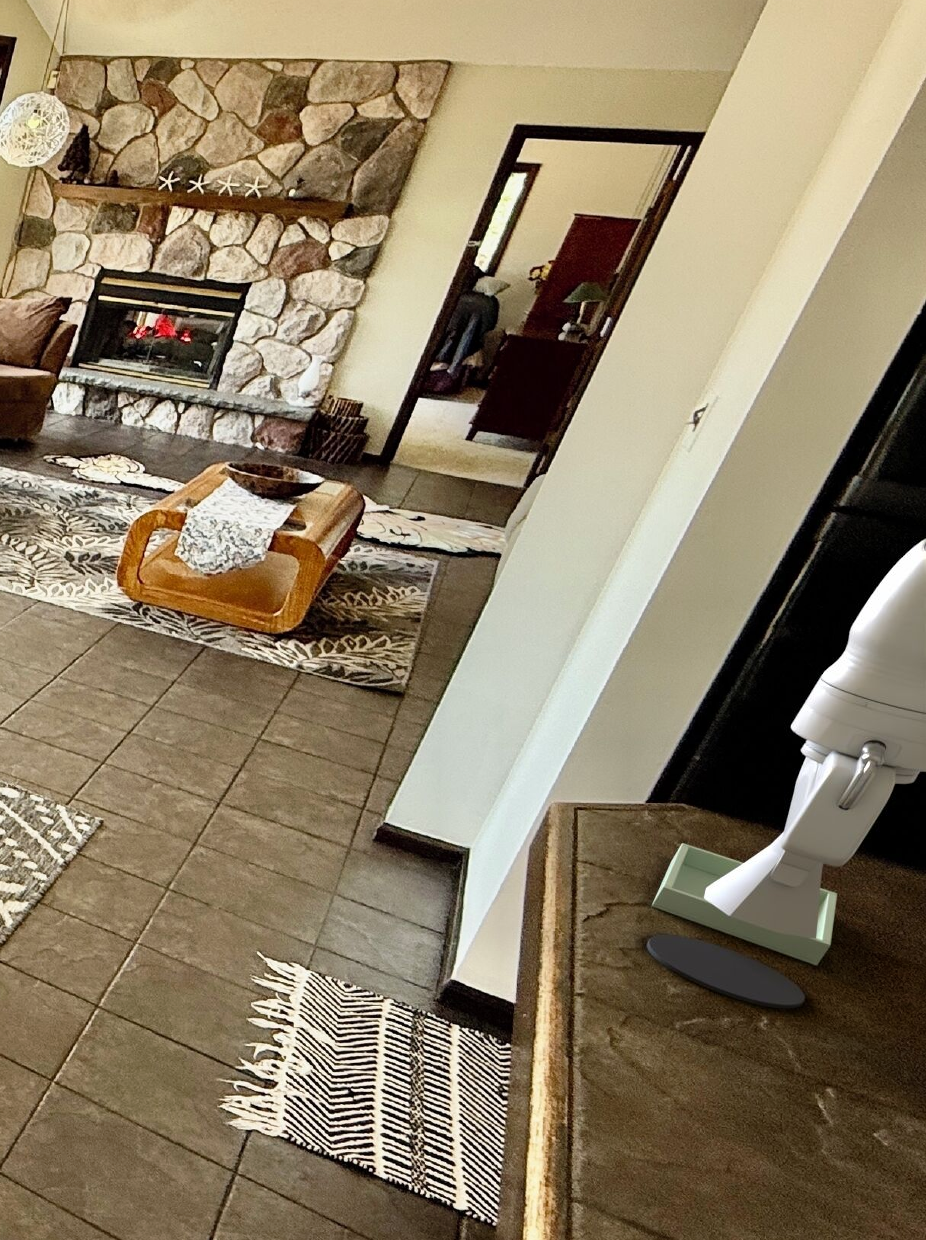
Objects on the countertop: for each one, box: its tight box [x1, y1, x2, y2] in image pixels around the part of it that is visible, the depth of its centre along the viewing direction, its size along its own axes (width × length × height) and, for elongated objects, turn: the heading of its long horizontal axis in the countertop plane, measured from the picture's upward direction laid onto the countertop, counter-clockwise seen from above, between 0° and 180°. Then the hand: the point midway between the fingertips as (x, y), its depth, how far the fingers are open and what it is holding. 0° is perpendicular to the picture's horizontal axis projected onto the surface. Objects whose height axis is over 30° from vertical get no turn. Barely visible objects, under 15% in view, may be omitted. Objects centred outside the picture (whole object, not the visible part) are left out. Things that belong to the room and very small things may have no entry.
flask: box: [704, 831, 824, 939], centre depth 97 cm, size 7×7×10 cm
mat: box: [646, 934, 806, 1010], centre depth 102 cm, size 10×10×1 cm
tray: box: [651, 843, 838, 966], centre depth 112 cm, size 15×11×2 cm
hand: (785, 873), depth 97 cm, fingers closed on flask, 3 cm apart
